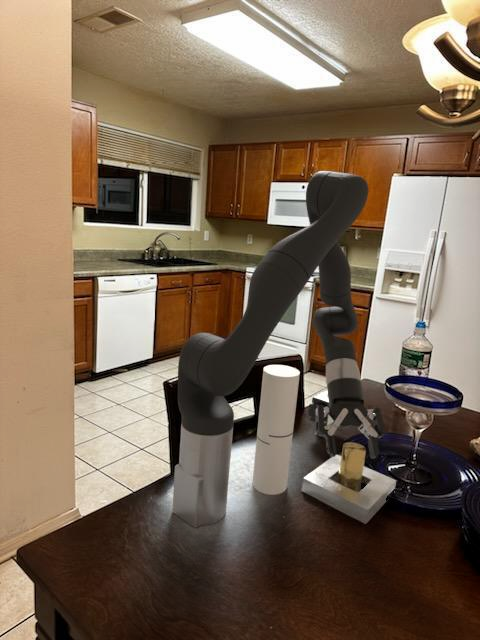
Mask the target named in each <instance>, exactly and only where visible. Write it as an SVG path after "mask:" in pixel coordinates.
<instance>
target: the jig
mask: <svg viewBox="0 0 480 640" xmlns="http://www.w3.org/2000/svg"><path fill="white" fill-rule="evenodd" d="M341 456H342V455H340V454H337V453H336V456H335V457H330V458H329V459H327V460H326V461H324V462H323V463H322V464H320V465H319V466H318V467H316V468H315V469H313V470H312V471H311V472H310V473H307V475H305V476H304V477H303V478H302V486H301V492H303V493H305V494H306V495H309V496H311V497H312V498H314V499H317V500H318V501H319V502H322V503H324V504H326V505H328V506H329V507H331V508H333V509H335V510H337V511H340V512H341V513H343V514H346V515H347V516H349V517H351V518H352V519H355V520H356V521H359V522H360V523H363V524H364V525H367V524H368V522H369V521H371V519H372V518H373V516H375V515H376V513H377V512H379V510H380V509H381V508H382V507H383V506H384V505H385V504H386V503H387V501H386V498H387V496H388V495H389V494H390V493H391V492H392V491H393V490H394V489H395V490H396V485H397V479H394V478H392V477H390V476H387V475H385V474H383V473H380V472H378V471H376V470H373V469H371V468H369V467H367V466H364V468H363V474H362V480H361V483H365V484H367V485H366V486H365V487H364V488H363V489H361V486H360V492H358V493H357V492H355V491H353V490H351V489H349V488H347V487H345V486H343V485H341V484H339V483H338V476H339V470H340V463H341Z"/></svg>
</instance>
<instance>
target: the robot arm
mask: <svg viewBox="0 0 480 640" xmlns="http://www.w3.org/2000/svg"><path fill="white" fill-rule="evenodd" d="M368 197H369V185H368V181H367V180H366V179H365V178H364V177H362V176H360V175H357V174H353V173H345V172H339V171H332V170H331V171H329V170H320V171H317V172H315V173H314V174H313V175H312V176H311V177H310V179H309V180H308V184H307V186H306V190H305V205H306V206H305V207H306V211H307V217H308V221H309V222H308V223H309V225H307V226H305V227H304V228H302V229H300V230H298V231H296V232H294V233H293V234H290V235H288V236H286V237H285V238H282V239H281V240H279V241H278V242H277V243H275V244H274V245H273V246H272V247H271V248H270V249H269V251H268V252H267V253H266V254H265V255H264V257H263V258H262V260H261V261H260V262H259V264H257V266H256V268H255V269H254V271H253V272H252V274H251V277H250V280H249V287H248V294H247V295H248V296H247V302H246V303H247V304H246V307H245V311H244V313H243V315H242V318H240V320H239V322H238V324H237V325H236V326H235V328H234V329H233V330H232V332H231V333H230V334H229V335H228V336H227V337H226V338H223V337H221V336H218V335H215V334H212V333H209V332H198V333H195V334H193V335H191V336H190V337H189V338H188V339H187V340H186V341H185V343H184V344H183V346H182V349H181V351H180V354H179V357H178V365H177V404H178V409H179V412H180V415H181V422H180V423H181V424H180V425H181V426H180V443H179V461H178V462H179V463H178V464H176V465H175V466H174V476H173V491H172V494H173V495H172V513H174V514H175V516H178V517H179V518H180V519H182V520H183V521H185V522H186V523H187V524H189V525H190V526H192V527H193V528H198V527H200V526H205V525H206V526H207V525H212V524H215V523H217V522H219V521H220V520H221V519H223V518H224V516H225V514H226V513H227V503H228V489H229V481H230V480H229V479H230V478H229V477H230V469H231V468H230V467H231V457H232V444H233V433H234V431H233V430H234V420H235V413H234V409H233V407H232V406H231V405H230V403H228V400H227V399H226V398H225V396H228V395H231V394H232V393H234V392H235V391H236V390H237V389H239V387H240V386H241V385H242V384H243V382H244V381H245V379H246V378H247V377H248V376H249V374H250V372H251V371H252V369H253V366H254V365H255V363H256V361H257V359H258V357H259V356H260V355H261V352H262V350H263V348H264V347H265V345H266V343H267V342H268V341H269V338H270V337H271V335H272V334H273V332H274V330H275V329H276V327H277V326H278V324H279V323H280V321H281V320H282V318H283V317H284V315H285V314H286V313H287V311H288V310H289V308H290V306H291V305H292V303H294V301H295V300H296V299H297V297H298V296H299V294H301V292H302V290H303V289H305V286H306V285H307V283H308V282H309V280H310V279H311V277H312V276H313V274H314V273H315V271H316V270H317V268H318V275H319V276H318V277H319V278H318V280H319V281H318V282H319V296H320V297H319V298H320V300H321V302H322V303H324V304H325V305H328V306H327V307H320V308H318V309H317V310H315V312H314V314H313V317H312V322H313V323H312V324H313V327H314V329H315V331H316V334H317V336H318V338H319V340H320V342H321V346H322V348H323V353H324V362H325V384H326V388H327V390H328V399H329V408H327V407H323V405H319V406H318V407H317V409H316V410H315V421H316V423H315V432H316V434H317V435H316V434H315V435H316V436H318V437H322V436H323V438H324V439H325V448H326V452H327V455H329V457H330V458H332V457H335V456H336V454H337V447H336V445H337V444H336V437H335V436H334V434H335V432H336V431H337V430H338V428H339V429H342V430H345V429H350V430H356V429H358V431H359V432H360V433H361V434H363V435H364V436H365V437H366V439H368V440H367V445H368V452H369V453H368V454H369V457H370V459H373V460H374V459H376V458H378V455H379V454H380V447H379V440H378V439H381V438H382V437H383V436H385V434H386V427H385V425H384V419H383V416H382V411H381V409H380V407H375V408H374V409H373V408H372V409H371V408H370V409H368V408H366V405H365V398H364V397H365V396H364V390H363V386H362V385H363V383H362V380H361V374H360V369H359V366H358V361H357V354H356V348H355V344H354V343H353V342H354V341H352V340H350V339H349V338H344V337H338V336H346V335H347V336H348V335H352V334H354V333H355V331H357V329H358V326H359V317H358V314H357V312H356V310H355V306H354V304H353V300H352V293H351V292H352V289H351V286H352V283H351V282H352V279H351V278H352V277H351V276H352V273H351V272H352V271H351V267H350V264H349V260H348V257H347V256H346V254H345V252H344V250H343V249H342V247H341V244H340V242H339V240H340V238H342V236H343V235H344V234H345V233H346V232H347V231H348V230H349V228H351V226H352V225H353V224H354V222H355V221H356V220H357V219H358V218H359V216H360V215H361V213H362V211H363V210H364V208H365V207H366V203H367V200H368ZM329 306H330V307H329ZM327 390H326V391H327ZM327 413H328V414H329V416H330V417H331V418H332V419H333V420H334V421H333V422H332V424H331V426H330V427H329V429H328V430H327V429H325V426H324V417H325V416H326V415H327ZM367 416H368V418H369V419H370V420H372V424H373V425H372V424H371V423H370V422H369V420H368V419H367ZM372 426H373V427H372Z"/></svg>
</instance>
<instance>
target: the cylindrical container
mask: <svg viewBox="0 0 480 640" xmlns="http://www.w3.org/2000/svg"><path fill="white" fill-rule="evenodd" d="M262 372H263V373H262V381H261V392H260V401H259V409H258V422H257V432H256V442H255V453H254V462H253V473H252V486H253V488H255V490H256V491H258V492H260V493H261V494H265V495H269V496H270V495H272V496H275V495H280V494H282V493H284V492H285V491H286V490H287V487H288V480H289V479H288V478H289V471H290V470H289V469H290V461H291V452H292V443H293V436H294V435H293V434H294V425H295V417H296V411H297V410H296V409H297V401H298V400H297V399H298V392H299V385H300V383H299V382H300V376H301V375H300V374H301V371H300V370H299V369H297V368H296V367H292V366H289V365H284V364H268V365H266V366H264V367H263V370H262Z"/></svg>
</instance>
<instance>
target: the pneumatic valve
mask: <svg viewBox="0 0 480 640" xmlns="http://www.w3.org/2000/svg"><path fill="white" fill-rule="evenodd" d="M319 405H323V407H327V408H329V399H328V390H325V391H323V392H320V391H319V392H318V393H316V394H315V396H314V397H312V398H311V403H309V405H308V412H307V413H308V415H307V416H308V417H309V421H311V422H313V423H314V424H316V421H315V410H316V409H317V407H318V406H319ZM333 422H334V420H333V419H332V418H331V417H330V416H329V414H328V413H327V415H326V416H325V417H324V426H325V429H327V430H328V429H329V427H330V426H331V424H332V423H333ZM314 434H315V435H316V436H318V435H317V434H316V431H315V433H314ZM321 437H323V436H321ZM323 438H324V437H323Z"/></svg>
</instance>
